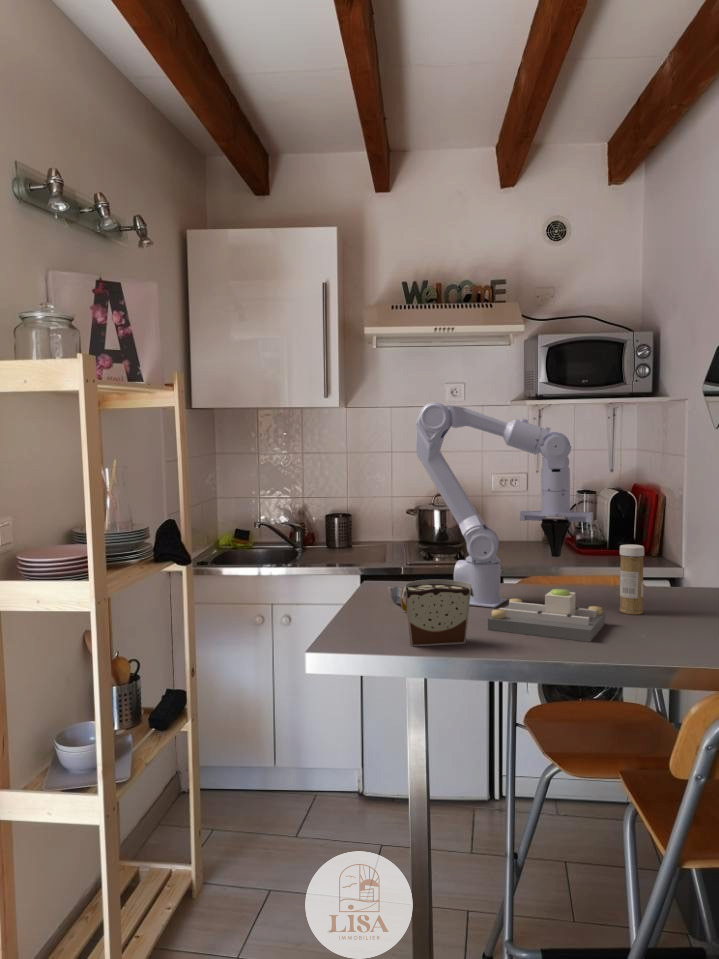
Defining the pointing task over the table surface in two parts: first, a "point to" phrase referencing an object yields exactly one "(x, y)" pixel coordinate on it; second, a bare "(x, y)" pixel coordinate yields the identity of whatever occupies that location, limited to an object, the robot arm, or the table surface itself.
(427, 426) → the robot arm
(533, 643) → the table surface
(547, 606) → the block
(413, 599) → the food container
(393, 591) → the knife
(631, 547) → the sprinkles bottle
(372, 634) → the table surface
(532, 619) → the levelling base
